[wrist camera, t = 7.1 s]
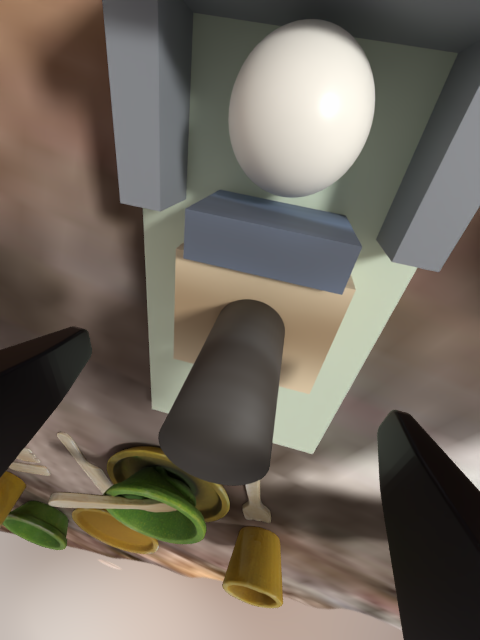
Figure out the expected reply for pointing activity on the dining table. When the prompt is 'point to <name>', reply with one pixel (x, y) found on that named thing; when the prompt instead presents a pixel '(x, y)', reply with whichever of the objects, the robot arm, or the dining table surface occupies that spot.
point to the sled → (251, 325)
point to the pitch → (341, 197)
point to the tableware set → (148, 515)
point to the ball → (301, 108)
